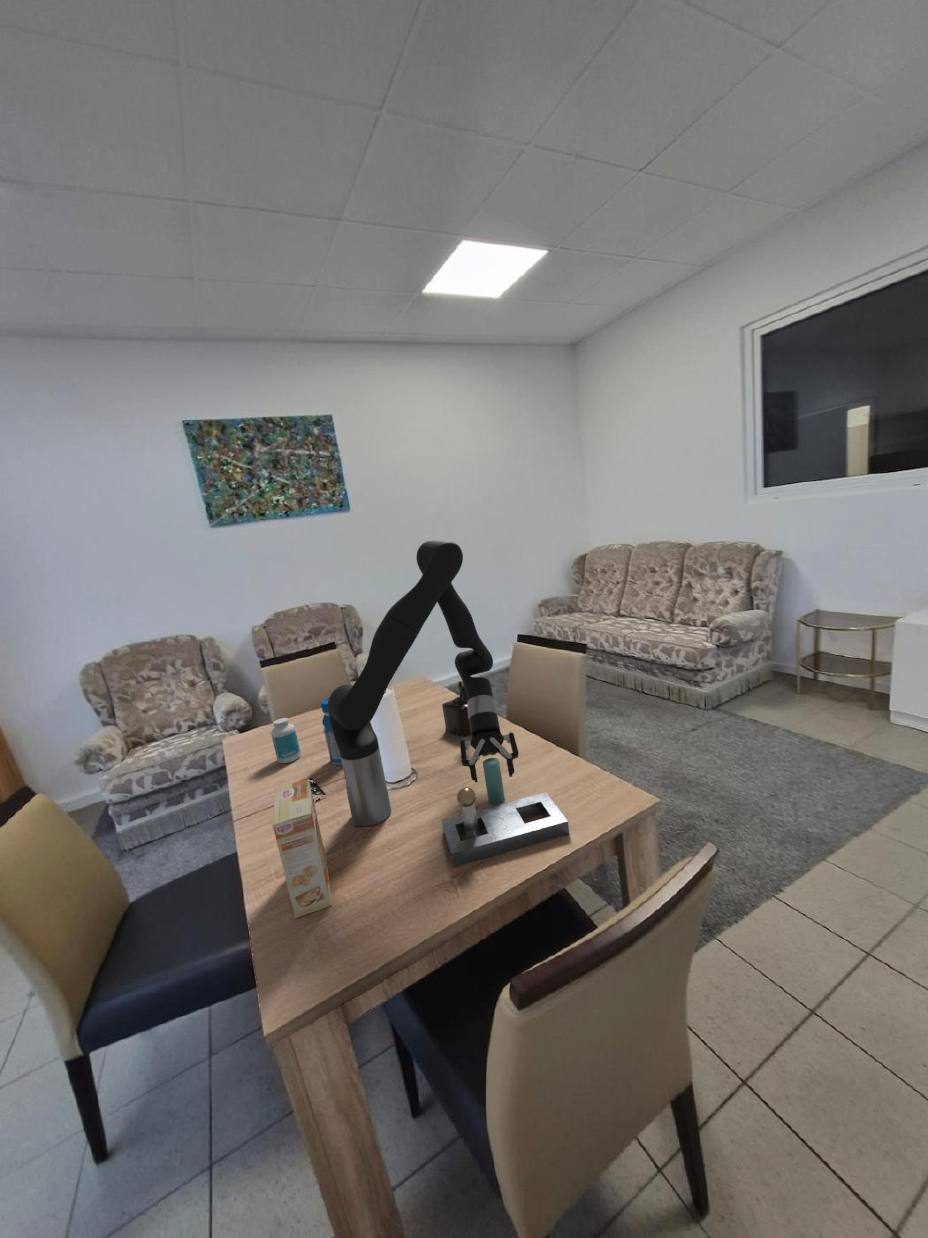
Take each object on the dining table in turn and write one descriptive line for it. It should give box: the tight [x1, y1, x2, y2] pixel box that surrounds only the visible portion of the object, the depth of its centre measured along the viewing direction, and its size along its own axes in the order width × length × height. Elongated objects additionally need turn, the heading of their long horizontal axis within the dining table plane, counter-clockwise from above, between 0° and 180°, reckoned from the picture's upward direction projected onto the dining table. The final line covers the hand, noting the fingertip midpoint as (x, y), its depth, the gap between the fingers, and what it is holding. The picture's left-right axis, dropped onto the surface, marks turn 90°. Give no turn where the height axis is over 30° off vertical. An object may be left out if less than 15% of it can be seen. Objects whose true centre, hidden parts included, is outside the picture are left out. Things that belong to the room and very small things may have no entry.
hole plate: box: [441, 786, 570, 868], centre depth 102 cm, size 25×12×12 cm, turn 103°
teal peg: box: [482, 757, 505, 805], centre depth 116 cm, size 4×4×10 cm
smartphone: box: [307, 777, 327, 802], centre depth 134 cm, size 7×1×15 cm
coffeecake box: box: [272, 778, 333, 920], centre depth 94 cm, size 15×7×20 cm, turn 20°
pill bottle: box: [270, 717, 302, 764], centre depth 156 cm, size 8×7×14 cm
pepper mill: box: [441, 680, 471, 737], centre depth 157 cm, size 16×11×18 cm
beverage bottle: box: [320, 697, 342, 766], centre depth 149 cm, size 8×8×20 cm
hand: (493, 778), depth 115 cm, fingers open, 8 cm apart
